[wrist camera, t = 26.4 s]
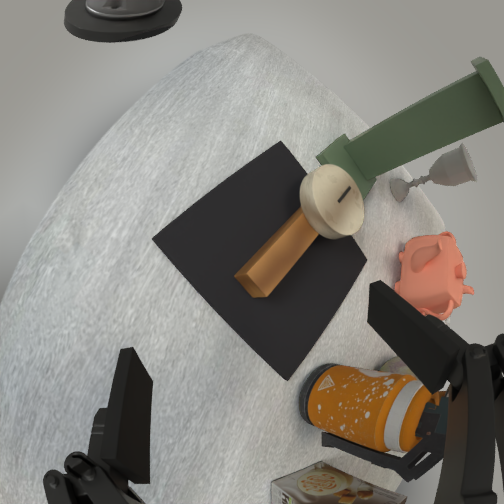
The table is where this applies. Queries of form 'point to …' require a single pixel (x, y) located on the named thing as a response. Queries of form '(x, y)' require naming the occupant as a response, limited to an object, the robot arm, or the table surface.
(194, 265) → the black mat
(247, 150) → the table surface
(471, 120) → the post
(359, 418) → the canister
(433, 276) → the teapot
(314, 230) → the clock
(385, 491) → the coffee box
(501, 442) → the robot arm
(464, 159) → the chalice
